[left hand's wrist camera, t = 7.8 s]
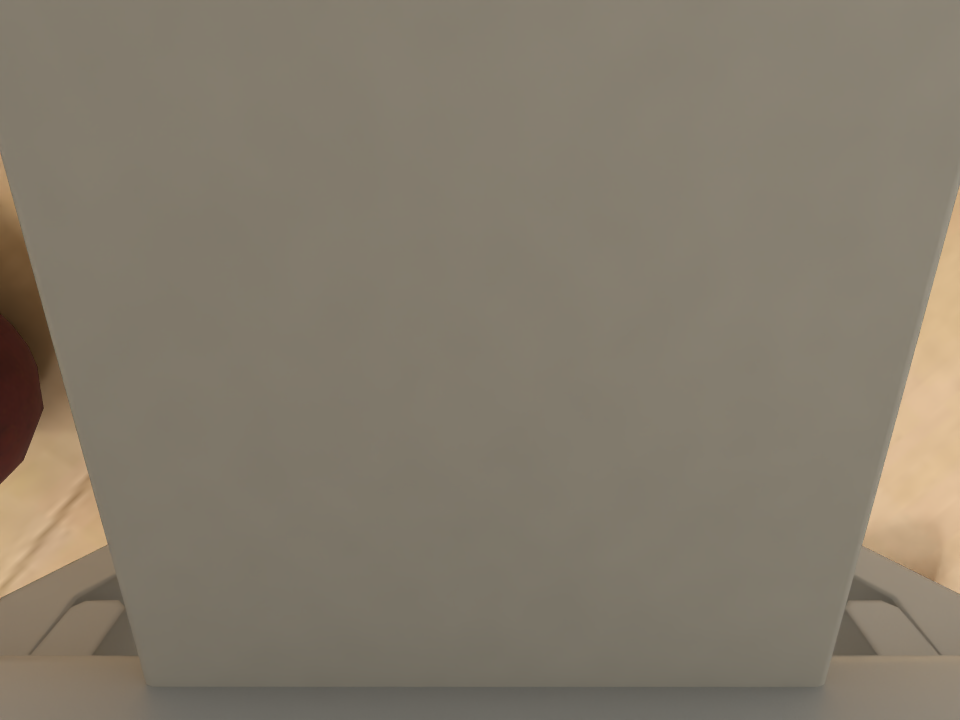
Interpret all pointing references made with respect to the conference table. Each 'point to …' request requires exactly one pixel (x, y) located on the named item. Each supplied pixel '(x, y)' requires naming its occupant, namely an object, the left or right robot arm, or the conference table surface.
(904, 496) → the conference table surface
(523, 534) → the bar
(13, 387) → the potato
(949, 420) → the conference table surface
